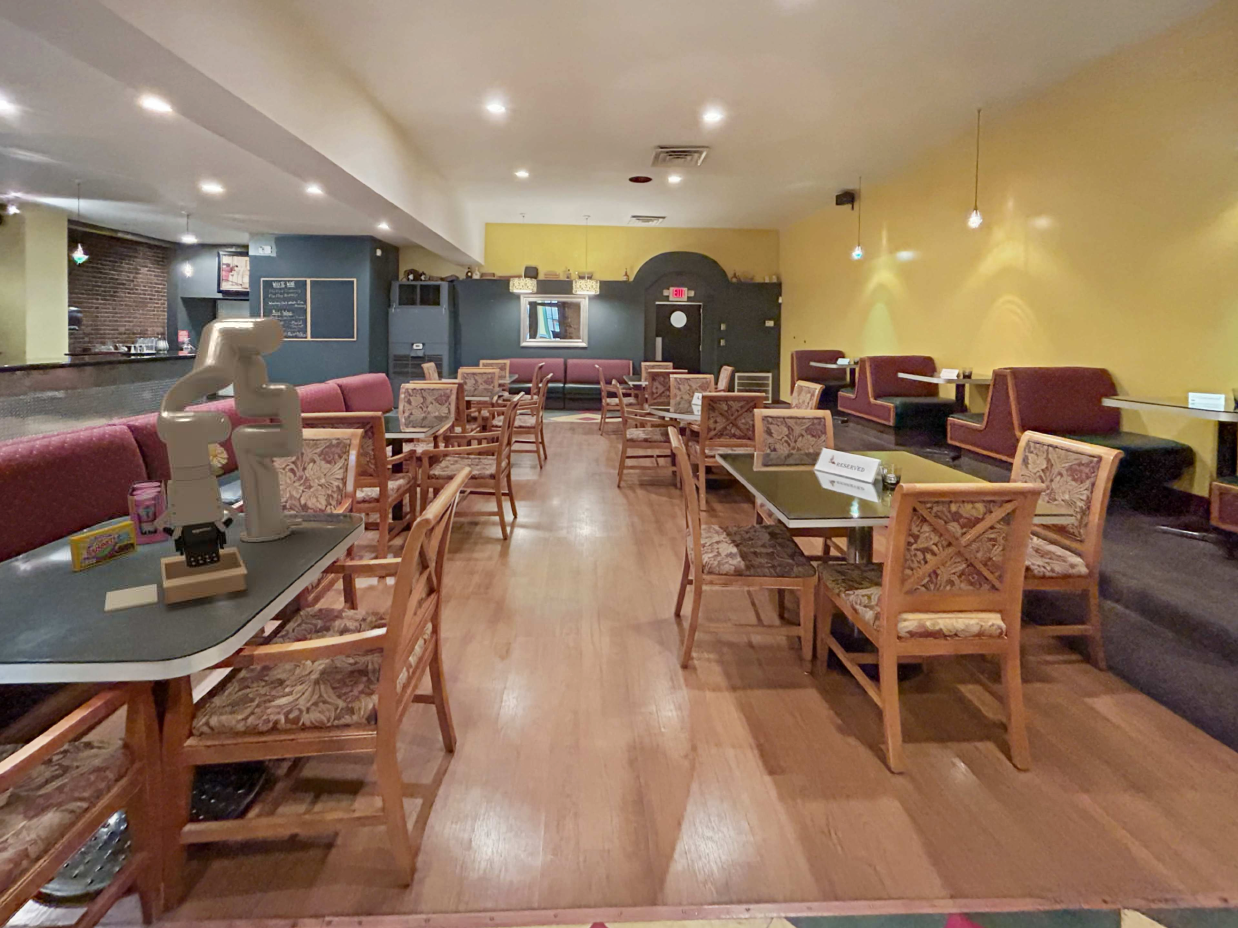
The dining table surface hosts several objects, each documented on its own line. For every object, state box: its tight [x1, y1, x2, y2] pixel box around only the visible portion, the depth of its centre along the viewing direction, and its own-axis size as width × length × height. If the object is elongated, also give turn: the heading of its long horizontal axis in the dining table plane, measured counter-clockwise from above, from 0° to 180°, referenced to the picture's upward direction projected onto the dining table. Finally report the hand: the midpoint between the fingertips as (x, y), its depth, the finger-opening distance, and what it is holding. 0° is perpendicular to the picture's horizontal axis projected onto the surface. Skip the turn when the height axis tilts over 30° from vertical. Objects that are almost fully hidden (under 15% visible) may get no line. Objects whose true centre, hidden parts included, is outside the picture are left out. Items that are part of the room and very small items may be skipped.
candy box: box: [68, 520, 138, 572], centre depth 172 cm, size 16×2×8 cm, turn 168°
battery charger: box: [180, 522, 220, 568], centre depth 153 cm, size 7×4×11 cm, turn 132°
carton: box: [160, 546, 249, 605], centre depth 153 cm, size 15×22×5 cm
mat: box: [103, 583, 159, 613], centre depth 147 cm, size 9×12×1 cm
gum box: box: [127, 478, 171, 546], centre depth 195 cm, size 24×8×14 cm, turn 32°
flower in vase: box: [208, 443, 229, 522], centre depth 200 cm, size 13×11×25 cm
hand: (202, 550), depth 153 cm, fingers closed on battery charger, 7 cm apart
